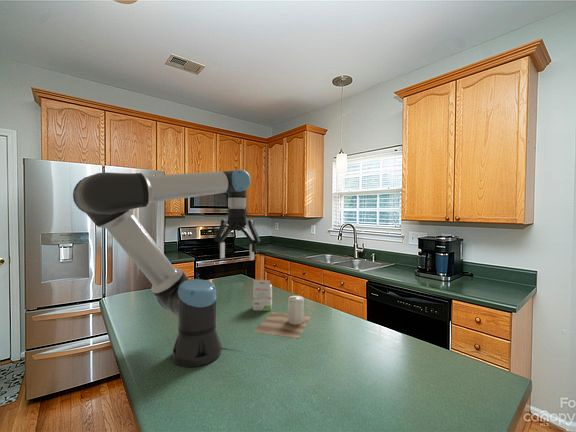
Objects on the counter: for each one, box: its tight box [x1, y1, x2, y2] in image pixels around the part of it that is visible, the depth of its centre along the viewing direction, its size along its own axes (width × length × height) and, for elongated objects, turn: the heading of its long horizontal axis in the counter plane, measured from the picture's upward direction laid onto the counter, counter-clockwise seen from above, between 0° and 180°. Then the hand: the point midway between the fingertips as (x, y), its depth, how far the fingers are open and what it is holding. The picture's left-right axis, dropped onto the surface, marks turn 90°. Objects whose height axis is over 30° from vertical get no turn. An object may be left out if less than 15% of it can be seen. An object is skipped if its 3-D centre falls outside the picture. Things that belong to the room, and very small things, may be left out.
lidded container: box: [287, 295, 305, 324], centre depth 119 cm, size 6×6×10 cm
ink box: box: [252, 279, 273, 312], centre depth 133 cm, size 9×5×15 cm, turn 84°
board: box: [253, 311, 312, 339], centre depth 116 cm, size 22×18×6 cm
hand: (236, 258), depth 118 cm, fingers open, 13 cm apart
